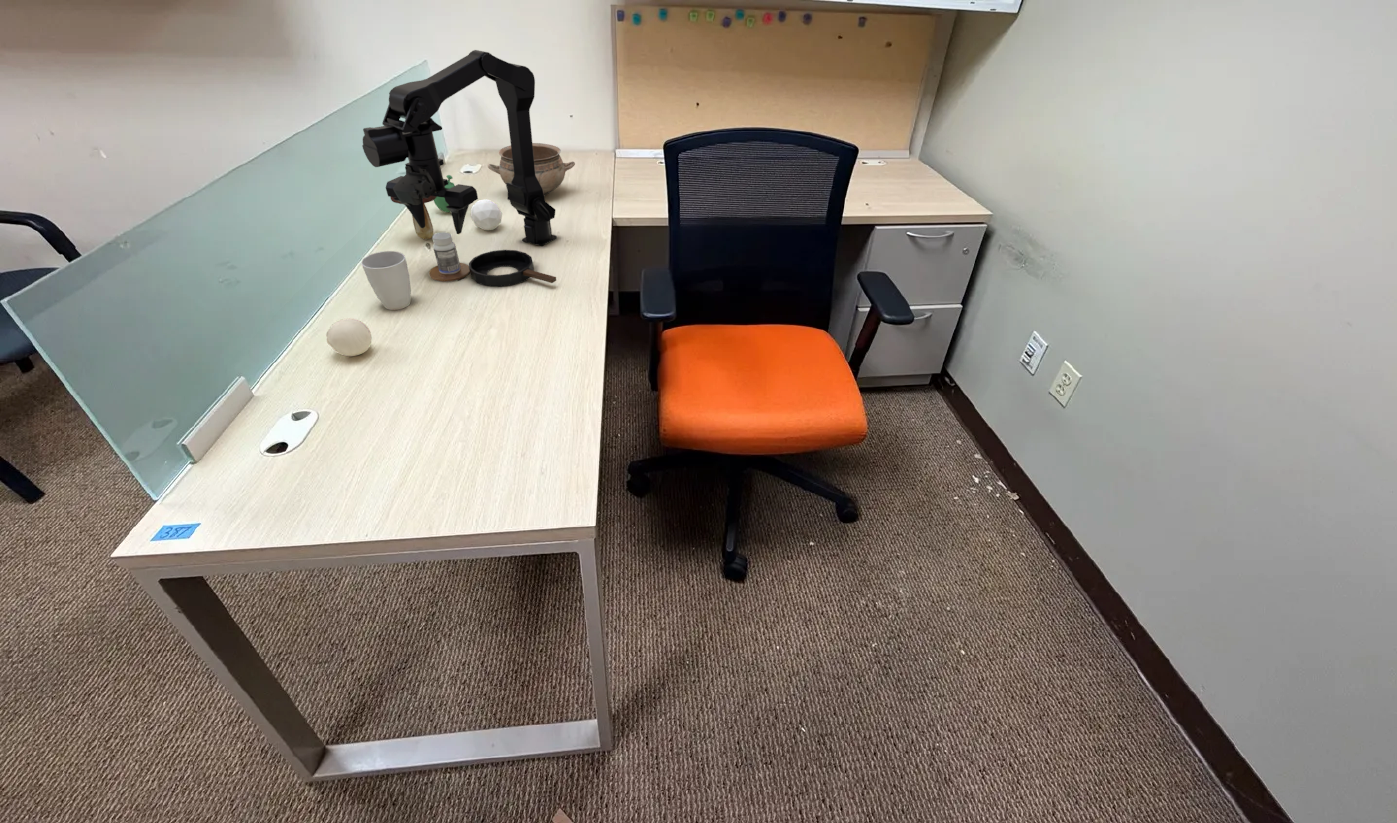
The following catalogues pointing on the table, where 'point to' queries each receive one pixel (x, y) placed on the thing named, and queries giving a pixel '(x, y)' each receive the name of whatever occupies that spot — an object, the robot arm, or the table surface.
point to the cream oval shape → (349, 337)
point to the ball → (486, 214)
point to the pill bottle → (446, 253)
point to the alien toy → (441, 200)
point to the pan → (504, 258)
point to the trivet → (439, 276)
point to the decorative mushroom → (428, 229)
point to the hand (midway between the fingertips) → (441, 230)
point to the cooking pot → (536, 166)
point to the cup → (389, 278)
